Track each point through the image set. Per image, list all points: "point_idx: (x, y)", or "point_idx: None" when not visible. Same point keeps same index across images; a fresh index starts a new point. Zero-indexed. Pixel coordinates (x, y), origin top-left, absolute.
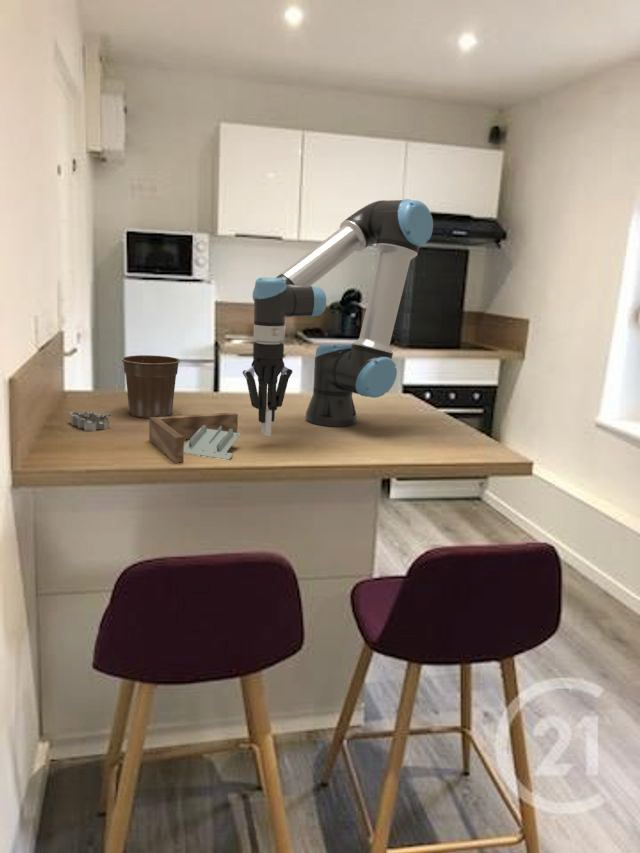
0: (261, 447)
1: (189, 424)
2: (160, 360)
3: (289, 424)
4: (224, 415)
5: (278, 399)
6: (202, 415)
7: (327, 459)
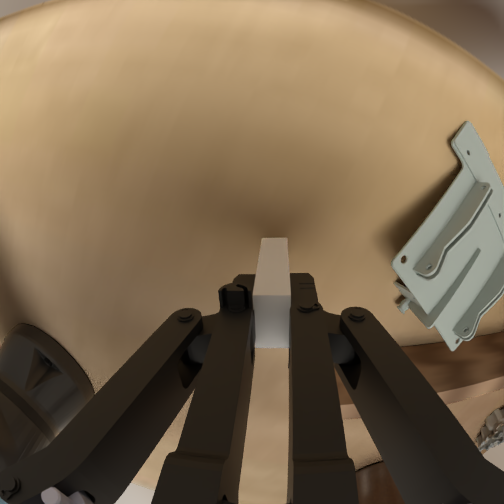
0: (306, 217)
1: (467, 369)
2: None
3: None
4: None
5: (186, 345)
6: None
7: (141, 32)
